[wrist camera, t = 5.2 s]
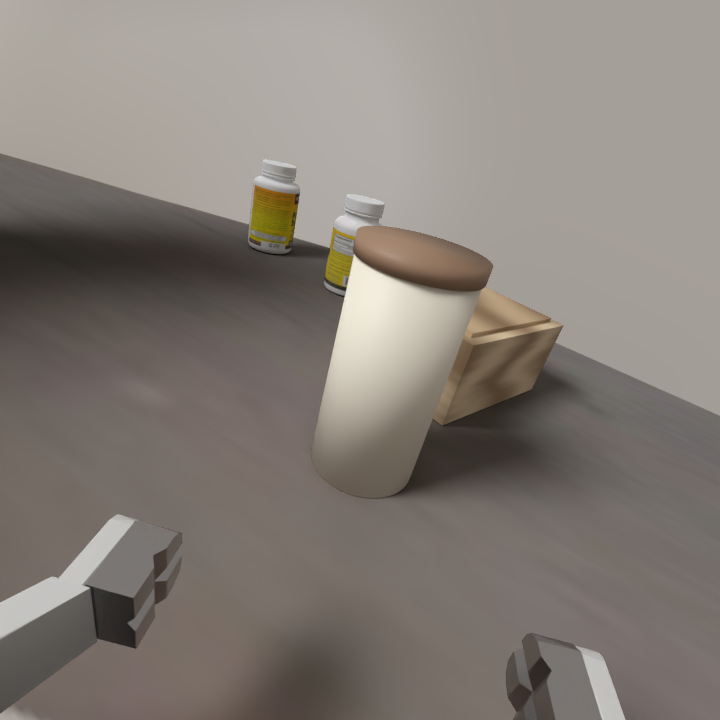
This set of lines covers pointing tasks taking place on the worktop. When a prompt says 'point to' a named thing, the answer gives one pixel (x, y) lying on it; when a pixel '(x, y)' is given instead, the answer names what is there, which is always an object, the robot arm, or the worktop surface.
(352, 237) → the supplement bottle
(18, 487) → the worktop surface
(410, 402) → the cream tin
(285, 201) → the supplement bottle
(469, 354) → the oak block
